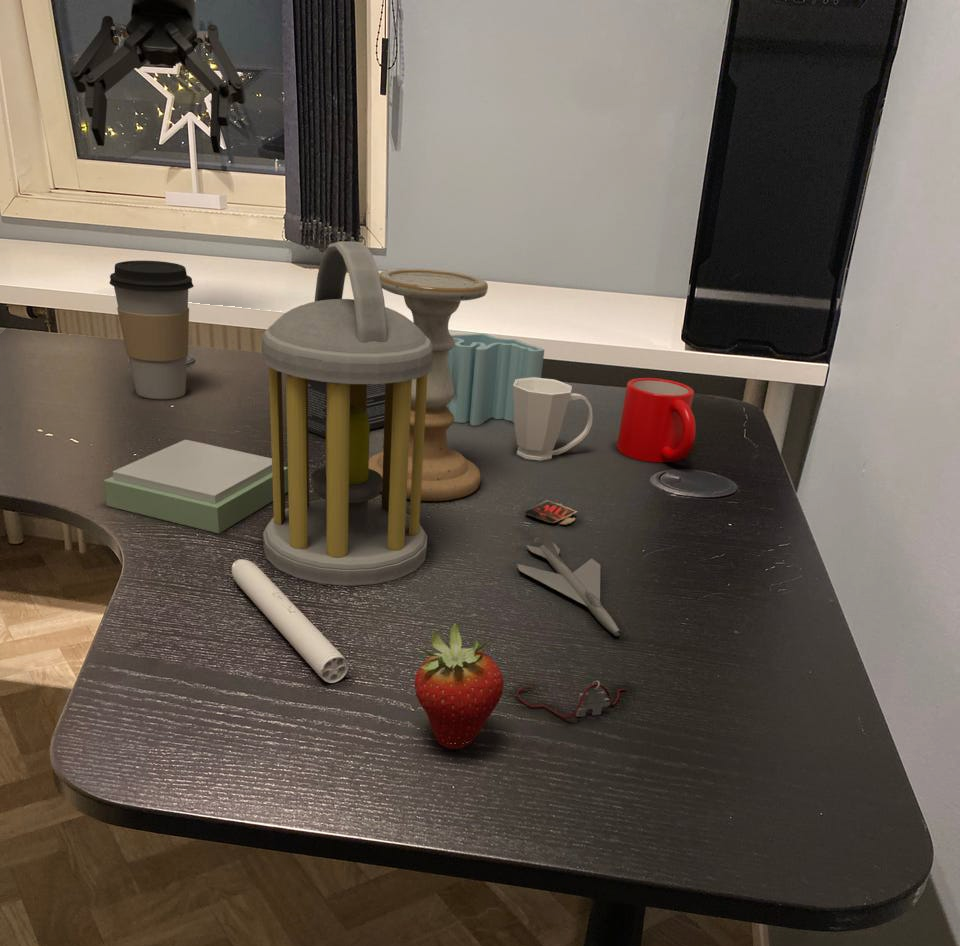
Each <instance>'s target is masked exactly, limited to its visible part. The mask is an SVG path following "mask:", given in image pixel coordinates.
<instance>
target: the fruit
mask: <svg viewBox="0 0 960 946" xmlns="http://www.w3.org/2000/svg"><path fill="white" fill-rule="evenodd" d="M462 639H463V638H462V636H461V633H460V630H459V627H458V623H457V622H456V623H454V624H453V626H452V627H451V628H450V633H449V646H448V645H447V644H446V643H445V642H444V641H443V639H442V638H441V636H440V635H439V633H438V631H437V629H435V630H434V631H433V633H432V635H431V637H430V643H431V646H432V647H433V649H435V650H437V651H438V652H437V653H436V652H431V651H429V650H427V649H425V647H424V646H423V645H422V644H421V645H420V647H421V649H422V650H423V651H424V652H425V653H427V654H428V656H429V657H428V658H426V659H425V661H424V662H423V663H421V665H420V667H419V668H418V670H417V672H416V674H415V677H414V690H415V696H416V698H417V700H418V703H419V704H420V706H421V707H422V709H423V710H424V712H425V713H426V715H427V716H426V717H427V718H428V720H429V723H430V726H431V730H432V732H433V734H434V737H435V739H436V741H437V743H439V744H440V745H441V746H442V747H444V748H446V749H448V750H460V749H463V748H465V747H466V746H468V745H470V744H471V743H472V742H473V741H474V740H475V738H476V737H477V736H478V735H479V733H480V732H481V730H482V729H483V727H484V726H485V724H486V722H487V720H488V719H489V717H490V716H491V715H492V713H493V711H494V710H495V709H496V707H497V705H498V704H499V703H500V700H501V698H502V695H503V692H504V685H505V684H504V683H505V682H504V677H503V674H502V672H501V670H500V668H499V666H498V665H497V664H496V663H495V661H494V660H493V659H492V658H491V657H490V656H489V655H487V654H486V653H484V652H483V651H480V650H481V649H482V648H484V647H485V646H486V645H487V644H488V642H490V639H491V638H488V639H487V640H486V642H484V643H482V644H480V638H478V637H477V638H476V641H475V642H474V645H473V647H471V648H467V647H462V645H463V640H462ZM439 652H440V653H439ZM471 740H472V741H471ZM469 741H470V742H469ZM466 742H468V743H466ZM450 743H452V744H450ZM454 743H456V744H454ZM462 743H464V744H462Z"/></svg>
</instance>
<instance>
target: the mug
mask: <svg viewBox="0 0 960 946" xmlns="http://www.w3.org/2000/svg"><path fill="white" fill-rule="evenodd" d="M694 396H695V391H694V389H693V388H692V387H690V386H688V385H686V384H684V383H681V382H678V381H674V380H669V379H665V378H656V377H655V378H654V377H640V378H633V379H630V380H629V381H628V382H627V384H626V389H625V395H624V400H623V407H622V413H621V419H620V424H619V430H618V437H617V441H616V442H617V443H616V449H617V451H619V453H621V454H623V456H627V457H629V458H632V459H636V460H639V461H645V462H651V463H678V462H680V461H683V460H684V459H686V458H687V457H688V455H690V453H691V451H692V449H693V446H694V444H695V441H696V435H697V434H696V432H697V425H696V419H695V415H694V413H693V411H692V405H693V401H694Z"/></svg>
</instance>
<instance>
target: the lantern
mask: <svg viewBox="0 0 960 946" xmlns="http://www.w3.org/2000/svg"><path fill="white" fill-rule="evenodd" d="M347 273H348V276H349V281H350V286H351V291H352V296H353V299H352V298H343V296H344V288H345V282H346V275H347ZM379 273H380V272H379V270H378V266H377V264H376V261H375V259H374V257H373V254H372V252H371V251H370V249H369V248H368V247H367V246H366V245H365V244H364V243H363V242H359V241H344V240H343V241H336V242H332V243H329V244H328V246H327V247H326V249H325V251H324V253H323V255H322V257H321V260H320V263H319V268H318V273H317V276H316V284H315V292H314V301H311V302H307V303H304V304H301V305H299V306H296V307H294V308H291V309H289V310H288V311H286V312H284V313H283V314H281V316H280V317H279V318H277V319H276V320H275V322H273V323H272V324H271V325H270V326H269V327H268V328H267V329H265V331H264V333H263V334H262V338H261V357H262V360H263V362H264V365H266V366H268V382H269V413H270V415H269V416H270V442H271V443H270V444H271V445H270V446H271V447H270V448H271V449H270V450H271V458H272V480H273V501H272V502H273V503H272V508H273V509H272V510H273V511H272V512H273V517H272V518H271V520H270V521H269V522H268V523H267V525H266V527H265V529H264V531H263V533H262V542H263V550H264V555H265V559H267V561H269V563H270V564H272V565H273V566H274V567H275V568H276V569H277V570H279V571H281V572H283V573H285V574H287V575H290V576H292V577H294V578H296V579H300V580H304V581H308V582H312V583H317V584H320V585H331V586H344V587H345V586H346V587H352V586H366V585H368V586H369V585H377V584H382V583H385V582H389V581H394V580H399V579H401V578H403V577H405V576H407V575H409V574H411V573H414V572H416V571H417V569H419V568H420V567H421V565H422V564H424V562H425V561H426V557H427V549H428V535H427V533H426V531H425V530H424V528H423V526H422V525H421V524H420V519H421V518H420V517H421V502H422V501H421V484H422V466H423V448H424V430H425V412H426V394H427V375H428V373H429V372H431V369H432V362H433V347H432V344H431V341H430V340H429V339H428V338H427V337H426V336H425V335H424V333H423V332H422V331H421V330H420V329H419V328H418V327H417V326H416V325H415V324H414V323H413V320H411V319H409V318H408V317H407V316H405V315H404V314H402V313H401V312H398V311H397V310H394V309H392V308H389V307H387V306H386V303H385V296H384V292H383V288H382V286H381V281H380V276H379ZM283 374H285V397H286V398H285V403H286V406H285V407H286V443H287V445H286V446H287V447H286V448H287V449H286V450H287V467H288V492H287V493H288V507H286V493H285V486H284V467H285V456H284V455H285V454H284V453H285V452H284V450H285V449H284V447H285V446H284V412H283V411H284V409H283V407H284V406H283ZM416 378H417V380H416V400H415V420H414V441H413V461H412V481H411V500H410V501H409V514H408V513H407V499H406V497H407V475H408V454H409V433H410V411H411V390H412V379H416ZM308 379H311V380H316V381H322V382H327V420H326V438H325V466H323V467H320V468H318V469H316V470H315V471H312V474H311V476H310V462H309V461H310V459H309V458H310V455H309V451H310V450H309V448H310V447H309V445H310V444H309V431H308ZM385 383H386V385H385V416H384V427H383V446H382V447H383V449H382V452H383V478H382V476H381V475H380V474H379V473H378V472H376V471H374V470H372V469H369V459H370V431H371V430H370V424H369V419H368V416H367V415H366V401H367V384H385ZM310 484H311V486H312V488H313V491H314V493H315V494H316V495H317V496H318V497H320V498H321V499H318V500H313V501H310ZM381 488H382V492H380V491H381ZM380 493H381V503H380V502H375V501H371V500H374V499H375V498H377V497H378V496H379V495H380Z"/></svg>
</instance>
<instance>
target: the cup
mask: <svg viewBox="0 0 960 946" xmlns="http://www.w3.org/2000/svg"><path fill="white" fill-rule="evenodd" d="M572 389H573V386H572V385H570V384H568V383H566V382H562V381H560V380H557V379H553V378H544V377H543V378H542V377H541V378H537V377H531V378H522V379H515V382H514V384H513V397H514V423H513V424H514V426H513V427H514V432H515V440H516V445H517V450H516V455H517V456H519V457H521V458H523V459H525V460H530V461H531V460H533V461H538V462H540V461H547V460H552V459H553V456H559V455H561V454H564V453H565V452H567V451H569V450H570V449H572V448H573V447H575V446H576V445H577V444H579V443H581V442H582V441H583V440H584V439H585V438H586V437H587V436H588V434H589V433H590V431H591V429H592V426H593V417H594V416H593V407H592V404H591V402H590V401H589V400H588V398H587V397H586V396H584V395H583V394H580V393H574V392H572ZM577 400H582V401H583V402H584V403H585V405H586V410H587V422H586V425H585V428H584V430H582V432H581V433H580V434H579V435H578V436H577V437H575V438H574V439H573V440H571V441H569V442H568V443H567V444H565V445H564V446H562V447H559V448H558V449H554V448H555V446H556V443H557V441H558V439H559V436H560V433H561V431H562V426H563V424H564V419H565V415H566V412H567V408H568V405H569V403H570V402H572V401H577Z"/></svg>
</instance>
